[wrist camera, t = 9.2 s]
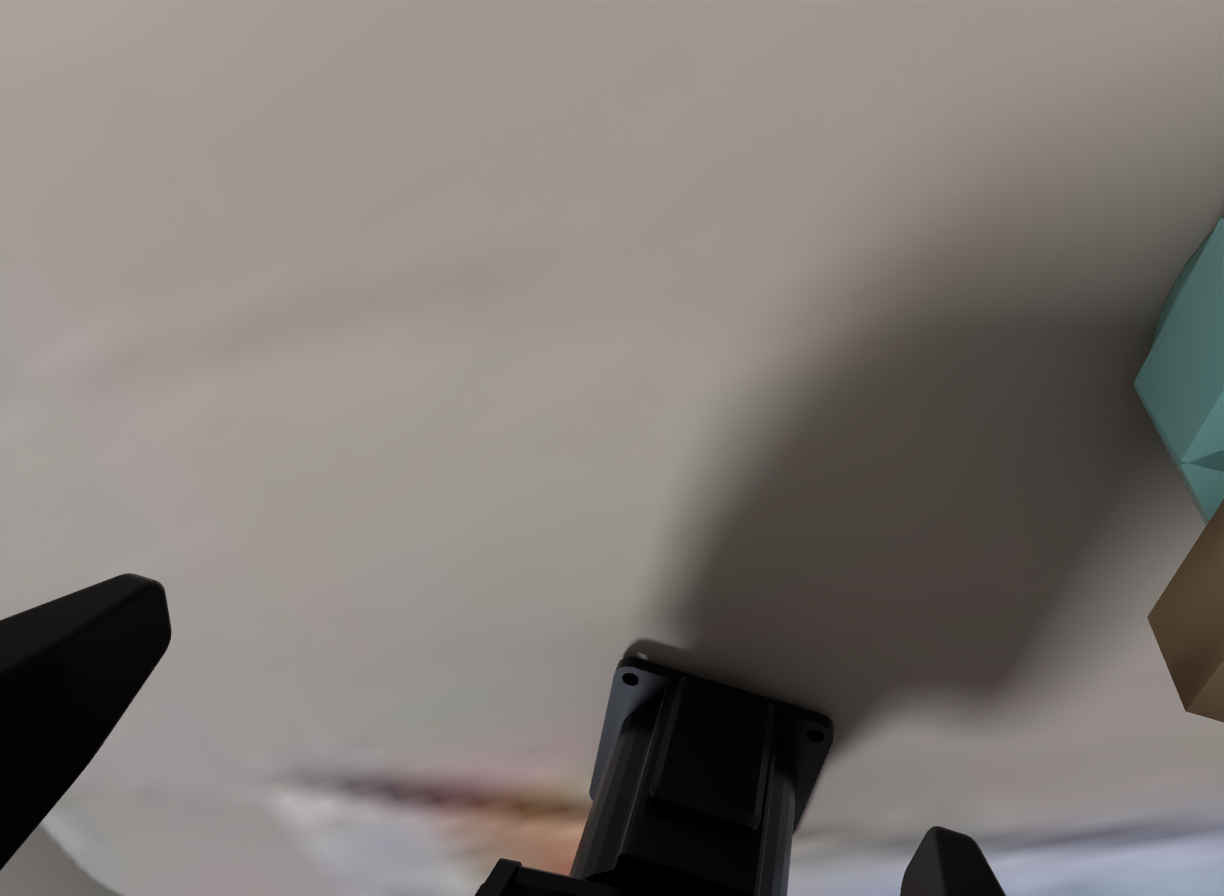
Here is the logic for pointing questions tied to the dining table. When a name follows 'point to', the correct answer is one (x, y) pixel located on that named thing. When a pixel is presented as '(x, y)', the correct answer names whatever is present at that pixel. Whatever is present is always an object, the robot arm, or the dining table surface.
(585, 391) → the dining table surface
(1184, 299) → the bowl
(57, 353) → the dining table surface
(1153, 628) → the board
